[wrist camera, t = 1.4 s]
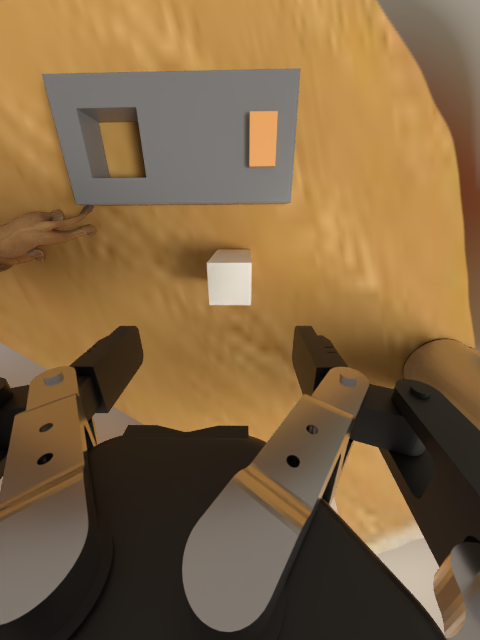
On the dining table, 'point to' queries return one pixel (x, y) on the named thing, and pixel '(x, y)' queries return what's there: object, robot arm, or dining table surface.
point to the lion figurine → (36, 235)
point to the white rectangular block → (229, 277)
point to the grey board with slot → (181, 135)
